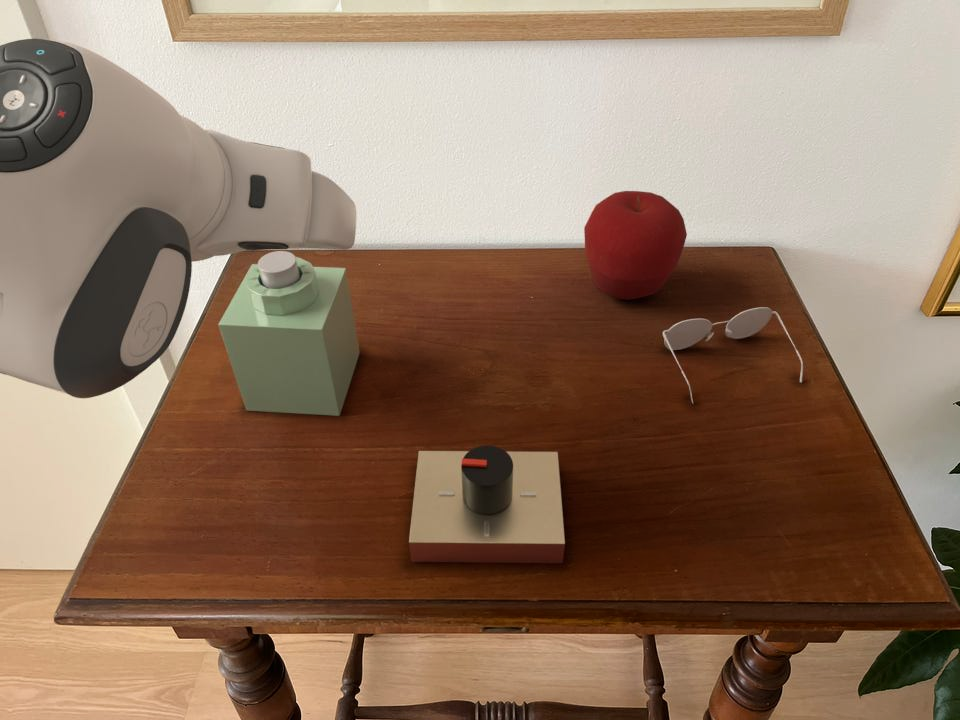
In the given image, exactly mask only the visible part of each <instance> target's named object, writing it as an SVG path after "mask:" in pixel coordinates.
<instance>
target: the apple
mask: <svg viewBox="0 0 960 720" xmlns="http://www.w3.org/2000/svg"><path fill="white" fill-rule="evenodd" d="M584 225H585V226H584V230H583V232H584V252H585V255H586V259H587V263H588V266H589V270H590V273H591V277H592V280H593V283H594V285H595V286H596V287H597V288H598V289H599V291H601V292H602V293H605V294H606V295H608V296H611V297H613V298H615V299H618V300H624V301H628V300H636V299H640V298H644V297H647V296H651V295H654V294H656V293H657V292H658V291H661V290H662V289H663V287H664V286H665V284H667V281H668V280H669V279H670V277H671V276H672V275H673V273H674V271H675V270H676V269H677V266H678V264H679V261H680V258H681V255H682V252H683V249H684V246H685V243H686V239H687V235H688V233H687V228H686V224H685V220H684V217H683V215H682V213H681V211H680V210H679V209H678V208H677V207H676V206H675V205H674V204H672V203H671V202H670V201H669V200H668V199H666V198H665V197H664V196H662V195H660V194H658V193H654V192H651V191H650V192H649V191H641V190H623V191H617V192H614V193H612V194H610V195H608V196H607V197H605V198H604V199H602V200H601V201H599V202H598V203H596V204H595V205H594V207H593V209H592V212H591V213H590V215H589V217H588V219H587V220H586V223H585V224H584Z"/></svg>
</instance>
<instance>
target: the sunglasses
mask: <svg viewBox="0 0 960 720" xmlns="http://www.w3.org/2000/svg"><path fill="white" fill-rule="evenodd" d="M773 315H776V318H777V320H778V321H779V323H780V325H781V326H782V328H783V330H784V332H785V333H786V336H787V337H788V339H789V340H790V342H791V345H792V346H793V348H794V349H795V352H796V355H797V356H798V358H799V360H800V376H799V383H803V377H804V376H803V375H804V374H803V373H804V362H803V358H802V356H801V354H800V353H799V350H798V349H797V348H796V346H795V344H794V341H793V340H792V338H791V336H790V334H789V332H788V329H787V328H786V326H785V324H784V322H783V320H782V319H781V317H780V315H779V313H778V312H777V311H773V310H772V309H771V308H769V307H766V306H762V307H753V308H750V309H746V310H743V311H741V312H739V313H737V314H736V315H735V316H733V317H732V318H731V319H730V320H724V321H719V322H718V321H717V322H714V323H712V322H711V321H710V320H708V319H706V318H701V317H699V318H689V319H686V320H682V321H679V322H677V323H675V324H673V325H672V326H670V328H668V329H665V330H663V331H662V336H663V339H664V340H663V341H664V347H665V348H666V349H667V350H670V352H671V353H672V356H673V357H674V359H675V361H676V363H677V366H678V367H679V369H680V371H681V374H682V375H683V377H684V380H685V381H686V384H687V386H688V388H689V394H690V399H691V403H692V404H694V400H693V394H692V388H691V385H690V382H689V380H688V378H687V375H686V373H685V372H684V371H683V369H682V367H681V365H680V363H679V361H678V358H677V356H676V354H675V352H674V351H678V350H683V349H687V348H689V347H691V346H693V345H695V344H697V343H698V342H700V341H701V340H703V339H704V338H705V337H707V338H706V339H705V343H706V342H708V341H709V340H711V338H712V337H713V336H714V334H715V332H713V331H712V328H713V327H714V326H716V325H719V324H720V325H721V324H725V323H727V324H726V325H725V330H724V334H725V336H726V337H727V338H731V339H735V340H736V339H737V340H738V339H745V338H747V337H751V336H754V335H755V334H757V333H758V332H760V331H761V330H763V328H765V326H766V325H768V323H769V321H770V320H771V318H772V316H773ZM711 331H712V332H711Z"/></svg>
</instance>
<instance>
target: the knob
mask: <svg viewBox="0 0 960 720" xmlns="http://www.w3.org/2000/svg"><path fill="white" fill-rule="evenodd" d="M468 451H469V452H468V453H467V454H466V455H465V456H464V458H463V459H462V463H461V472H462V495H463V500H464V502H465V504H466V505H467V506H468V507H469V508H470V509H471V510H473V511H475V512H477V513H481V514H494V513H498V512H500V511H502V510H504V509H505V508H506V507H507V506H508V505H509V503H510V502H511V499H512V491H513V461H512V459H511V457H510V455H509V454H508V453H507V452H506V450H504V449H503V448H501V447H500V446H495V445H479V446H476V447H473V448H472V449H470V450H468Z"/></svg>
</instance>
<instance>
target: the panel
mask: <svg viewBox="0 0 960 720" xmlns="http://www.w3.org/2000/svg"><path fill="white" fill-rule="evenodd" d="M469 451H470V450H418V453H417V462H416V473H415V480H414V481H415V482H414V488H413V489H414V491H413V500H412V509H411V519H410V527H409V537H408V546H409V554H410V561H411V563H473V564H474V563H475V564H476V563H479V564H481V563H485V564H486V563H487V564H491V563H493V564H563V563H564V556H565V555H564V554H565V549H566V547H565V546H566V539H565V525H564V516H563V515H564V513H563V500H562V488H561V475H560V461H559V452H558V451H512V450H511V451H506V450H505V451H506V452H507V453H508V454H509V455H510V457H511V459H512V461H513V491H512V499H511V502H510V503H509V505H508V506H507V507H506V508H505V509H504V510H502V511H500V512H498V513H494V514H481V513H477V512H475V511H473V510H471V509H470V508H469V507H468V506H467V505H466V504H465V502H464V500H463V495H462V472H461V463H462V459H463V458H464V456H465V455H466V454H467V453H468V452H469Z"/></svg>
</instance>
